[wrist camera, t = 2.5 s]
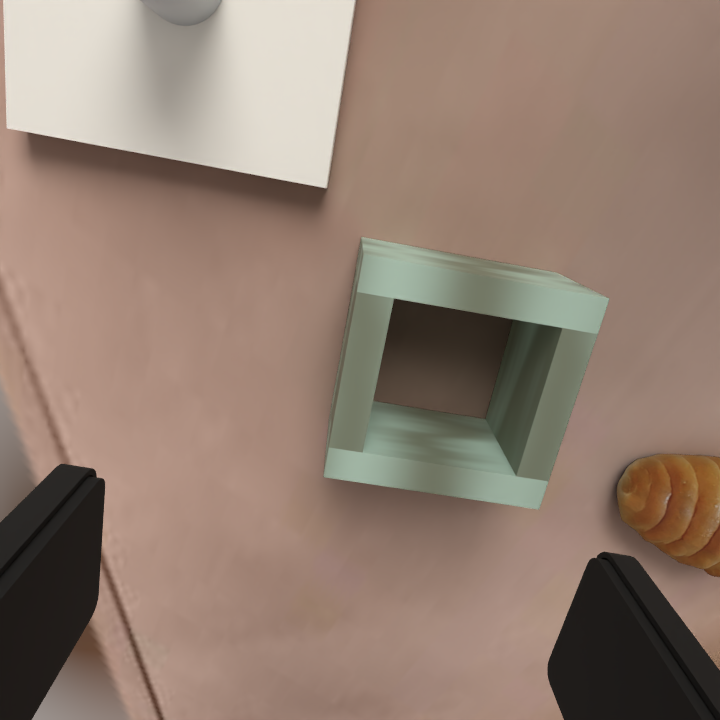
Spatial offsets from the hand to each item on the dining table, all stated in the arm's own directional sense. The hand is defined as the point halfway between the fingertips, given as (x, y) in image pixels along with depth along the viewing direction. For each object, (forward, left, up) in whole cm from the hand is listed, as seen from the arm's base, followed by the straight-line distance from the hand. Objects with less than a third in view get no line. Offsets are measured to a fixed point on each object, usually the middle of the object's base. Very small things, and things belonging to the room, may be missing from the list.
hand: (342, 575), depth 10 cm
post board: (+9, -13, -19) cm, 25 cm away
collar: (-5, +1, -19) cm, 19 cm away
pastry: (-22, +7, -19) cm, 30 cm away
